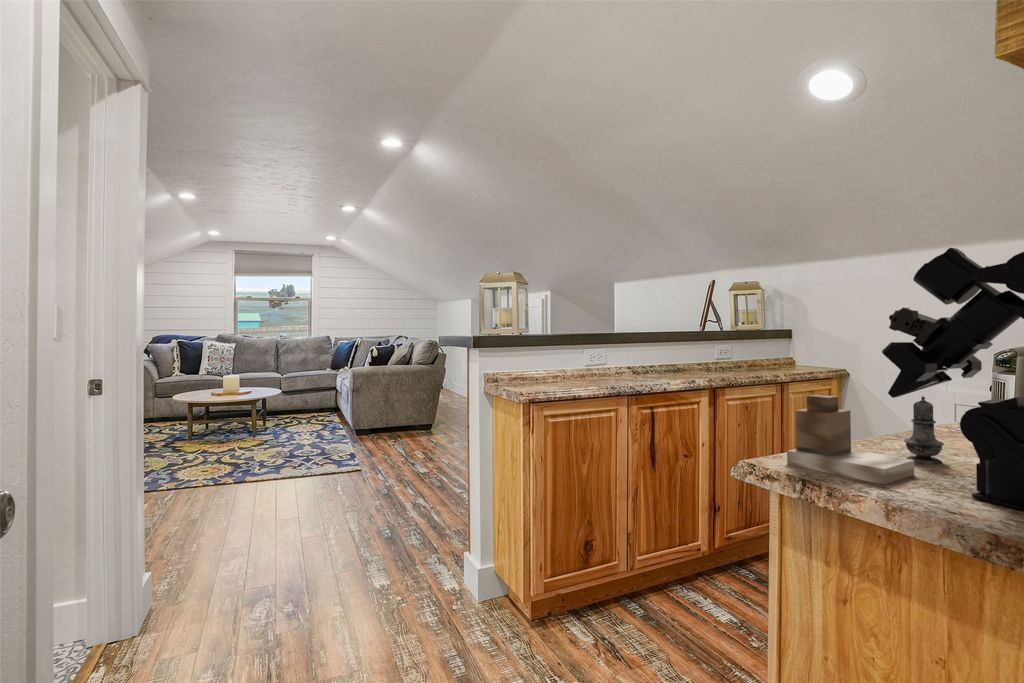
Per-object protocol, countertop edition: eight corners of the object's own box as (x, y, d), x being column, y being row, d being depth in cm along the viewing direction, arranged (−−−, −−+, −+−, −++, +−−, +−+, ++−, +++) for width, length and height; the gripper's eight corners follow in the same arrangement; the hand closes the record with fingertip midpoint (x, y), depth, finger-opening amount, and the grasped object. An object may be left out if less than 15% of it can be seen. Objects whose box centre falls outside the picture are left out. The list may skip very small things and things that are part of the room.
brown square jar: (851, 451, 95) (850, 396, 95) (829, 456, 91) (828, 399, 91) (817, 445, 100) (816, 393, 100) (796, 450, 97) (795, 396, 96)
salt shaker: (945, 466, 93) (944, 398, 93) (903, 462, 96) (903, 397, 96) (943, 459, 97) (942, 395, 97) (904, 455, 101) (903, 393, 101)
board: (914, 474, 88) (914, 459, 88) (884, 484, 83) (884, 468, 83) (818, 456, 102) (817, 443, 102) (787, 464, 97) (787, 450, 97)
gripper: (956, 293, 86) (883, 359, 96) (896, 287, 77) (822, 361, 87) (1020, 340, 79) (935, 406, 89) (962, 340, 70) (874, 413, 80)
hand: (891, 395), depth 86 cm, fingers closed
